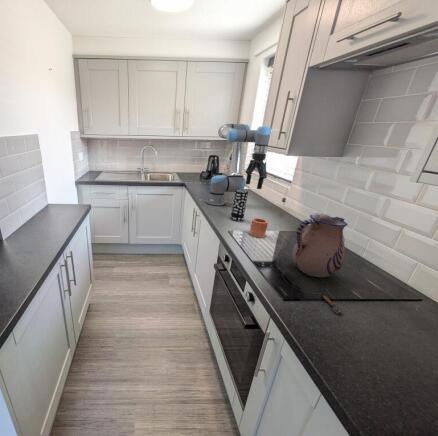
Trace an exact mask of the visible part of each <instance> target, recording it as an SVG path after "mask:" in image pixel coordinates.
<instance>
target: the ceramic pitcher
mask: <svg viewBox="0 0 438 436" xmlns="http://www.w3.org/2000/svg"><path fill="white" fill-rule="evenodd" d="M308 225H309V226H308ZM307 226H308V227H307ZM347 226H348V223H347V222H346V221H345V218H343V217H340V216H334V217H332V216H330V215H328V214H325V213H319V212H318V213H317V212H316V213H312V214H311V213H310V215H309V218H306V219H304V220H302V221H301V222H300V223H299V224H298V225H297V228H296V231H295V238H296V242H295V244H294V246H293V248H292V251H291V252H292V253H291V256H292V257H291V258H292V261H293V263H294V265H295V267H296V268H297V269H298V270H299V271H300V272H302V273H304V274H305V275H307V276H310V277H315V278H327V277H332V276H333V275H336V274H337V272H338V271H340V270H341V268H342V266H343V264H344V261H345V252H346V251H345V250H346V249H345V241H346V239H345V236H344V229H345V227H347ZM306 227H307V228H306ZM304 229H305V230H304ZM303 231H304V232H303Z"/></svg>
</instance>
